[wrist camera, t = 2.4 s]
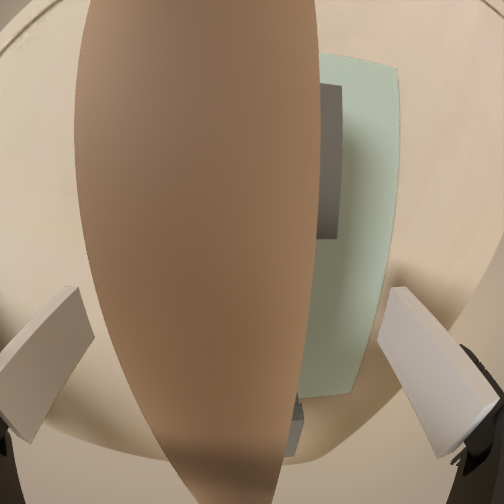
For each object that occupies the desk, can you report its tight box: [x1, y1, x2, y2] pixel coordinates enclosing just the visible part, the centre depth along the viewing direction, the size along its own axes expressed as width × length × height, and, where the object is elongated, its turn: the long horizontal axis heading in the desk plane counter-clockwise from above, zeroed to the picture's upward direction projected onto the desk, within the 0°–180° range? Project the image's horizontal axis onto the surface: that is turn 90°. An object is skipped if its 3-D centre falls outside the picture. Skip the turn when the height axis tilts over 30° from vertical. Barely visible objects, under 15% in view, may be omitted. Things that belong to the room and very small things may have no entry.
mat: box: [297, 53, 400, 399], centre depth 15 cm, size 6×24×1 cm, turn 0°
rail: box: [74, 0, 321, 504], centre depth 7 cm, size 4×20×4 cm, turn 0°
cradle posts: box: [284, 83, 343, 457], centre depth 12 cm, size 6×16×8 cm, turn 0°
